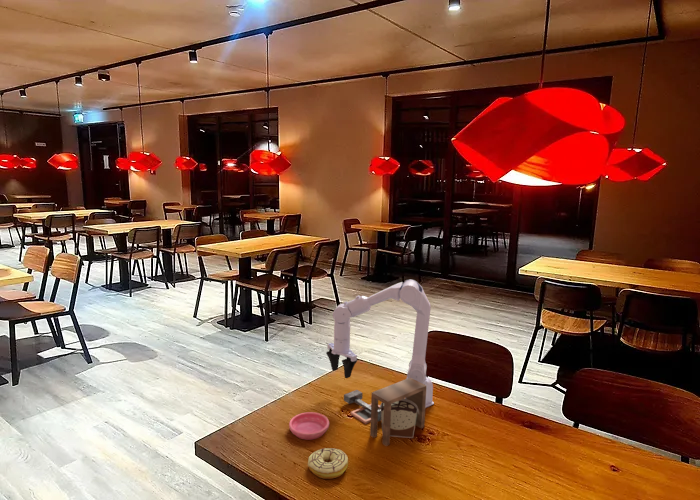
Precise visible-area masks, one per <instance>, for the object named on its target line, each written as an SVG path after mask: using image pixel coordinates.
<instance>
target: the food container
mask: <svg viewBox="0 0 700 500" xmlns="http://www.w3.org/2000/svg"><path fill="white" fill-rule="evenodd" d="M379 405H380V408H381V421H380V422H381V430H382V435H383V418H384V403H382V402H381V403H380V404H379ZM380 408H379V410H380ZM417 412H418V413H419V410H418V407H417V405H416V404H415V403H414V402H412V401H410V400H408V399H405V398H404V399H402V400H399V401H397V402H395V403H392V404H391V423H390V437H393V438H406V439H407V438H409V439H414V435H415V429H416V425H415V424H416V418H417Z"/></svg>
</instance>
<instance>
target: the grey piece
mask: <svg viewBox="0 0 700 500" xmlns="http://www.w3.org/2000/svg"><path fill="white" fill-rule="evenodd" d="M343 401H344V402H345V403H347V404H349V405H351V404H353V403H355V404H356V405H358V406H360V408H362V407H363V408H365V409H366V410H368V411H369V412H371V406H370V405H369V404H368V403H366V402H365V401H364V400H363V392H362V391H360V390H358V389H355V390H352V391H350V392H348V393H345V394H343ZM378 422H382V421H381V409H380V410H378Z"/></svg>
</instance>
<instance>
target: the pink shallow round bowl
mask: <svg viewBox="0 0 700 500" xmlns="http://www.w3.org/2000/svg"><path fill="white" fill-rule="evenodd" d="M288 427H289V430H290V431H291V433H292V434H293V435H295V436H296V437H297V438H299V439H301V440H308V441H311V440H316V439H319V438H320V437H322V436H323V435H324V434H325V433H326V432H327V430H329V427H330V421H329V419H328V417H327V416H326V415H324V414H322V413H319V412H314V411H309V412H302V413H299V414H296V415H294V416H293V417H292V418H291V419H290V421H289V423H288Z"/></svg>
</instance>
